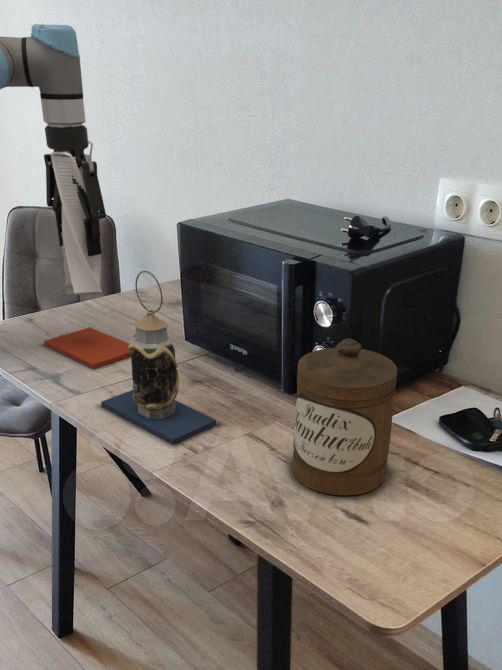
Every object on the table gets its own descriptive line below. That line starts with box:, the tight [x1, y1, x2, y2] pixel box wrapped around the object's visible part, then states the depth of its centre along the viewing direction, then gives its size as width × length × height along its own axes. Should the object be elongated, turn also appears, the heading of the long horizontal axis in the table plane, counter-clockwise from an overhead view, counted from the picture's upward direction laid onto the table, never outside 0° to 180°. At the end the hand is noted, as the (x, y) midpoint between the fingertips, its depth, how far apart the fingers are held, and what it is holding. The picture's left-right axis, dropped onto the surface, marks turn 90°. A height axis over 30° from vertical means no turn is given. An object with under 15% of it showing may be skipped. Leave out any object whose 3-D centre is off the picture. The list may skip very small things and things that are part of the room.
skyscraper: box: [50, 139, 103, 297], centre depth 137 cm, size 8×8×28 cm
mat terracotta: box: [43, 326, 132, 369], centre depth 152 cm, size 18×12×1 cm, turn 48°
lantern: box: [128, 270, 180, 419], centre depth 119 cm, size 9×8×25 cm
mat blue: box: [100, 389, 217, 445], centre depth 126 cm, size 20×10×1 cm, turn 47°
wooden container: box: [292, 338, 398, 496], centre depth 106 cm, size 15×15×22 cm
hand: (80, 250), depth 141 cm, fingers closed on skyscraper, 9 cm apart
